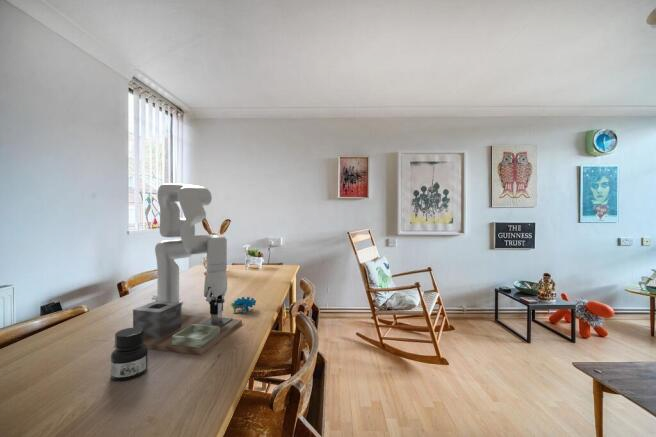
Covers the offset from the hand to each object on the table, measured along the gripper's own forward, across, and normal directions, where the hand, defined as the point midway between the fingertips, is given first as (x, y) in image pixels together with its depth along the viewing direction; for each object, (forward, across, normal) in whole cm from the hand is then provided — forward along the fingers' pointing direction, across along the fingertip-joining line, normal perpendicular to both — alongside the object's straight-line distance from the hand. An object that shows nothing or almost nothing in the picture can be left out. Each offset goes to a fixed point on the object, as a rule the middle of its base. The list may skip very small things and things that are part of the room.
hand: (216, 312), depth 122 cm
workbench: (+6, +9, -8) cm, 13 cm away
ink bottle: (+6, +37, -5) cm, 38 cm away
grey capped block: (+4, 0, 0) cm, 4 cm away
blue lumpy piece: (+6, -20, +2) cm, 21 cm away
